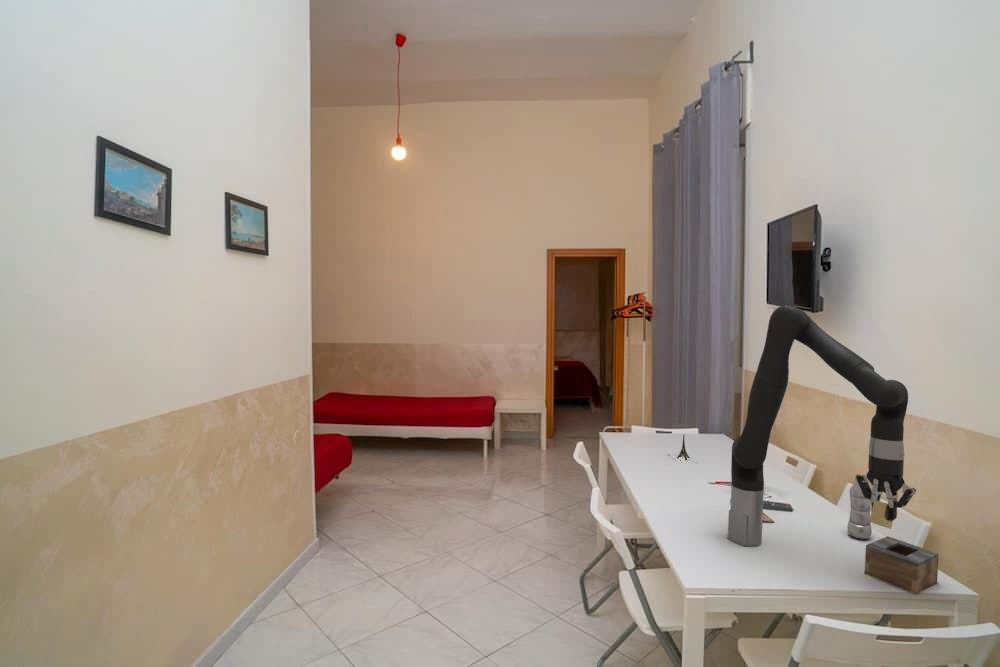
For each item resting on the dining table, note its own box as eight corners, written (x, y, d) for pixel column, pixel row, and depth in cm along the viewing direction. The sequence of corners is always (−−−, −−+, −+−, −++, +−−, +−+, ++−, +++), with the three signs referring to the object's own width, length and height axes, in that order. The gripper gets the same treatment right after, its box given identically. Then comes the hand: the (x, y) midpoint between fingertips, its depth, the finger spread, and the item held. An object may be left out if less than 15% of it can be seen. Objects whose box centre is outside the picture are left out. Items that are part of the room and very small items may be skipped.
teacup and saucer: (744, 494, 205) (745, 484, 205) (752, 489, 211) (752, 479, 211) (768, 500, 199) (768, 490, 199) (775, 495, 205) (775, 485, 205)
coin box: (915, 594, 133) (917, 563, 133) (864, 573, 143) (865, 545, 143) (937, 582, 139) (938, 553, 138) (886, 563, 149) (887, 536, 149)
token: (882, 525, 135) (886, 503, 136) (869, 521, 138) (874, 499, 139) (891, 529, 137) (895, 506, 138) (878, 525, 140) (883, 503, 141)
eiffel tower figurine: (665, 455, 261) (666, 429, 260) (684, 455, 262) (685, 429, 261) (679, 464, 246) (680, 436, 245) (699, 463, 247) (700, 436, 246)
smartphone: (754, 505, 192) (775, 522, 177) (754, 507, 192) (775, 524, 177) (734, 504, 192) (753, 521, 177) (734, 506, 192) (753, 523, 177)
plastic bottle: (842, 535, 168) (845, 475, 167) (853, 531, 171) (856, 472, 170) (864, 543, 162) (867, 480, 161) (875, 539, 165) (878, 477, 164)
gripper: (850, 450, 142) (848, 511, 143) (909, 463, 130) (907, 530, 130) (864, 447, 146) (862, 507, 146) (924, 459, 133) (921, 525, 134)
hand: (883, 517), depth 138 cm, fingers closed on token, 2 cm apart
